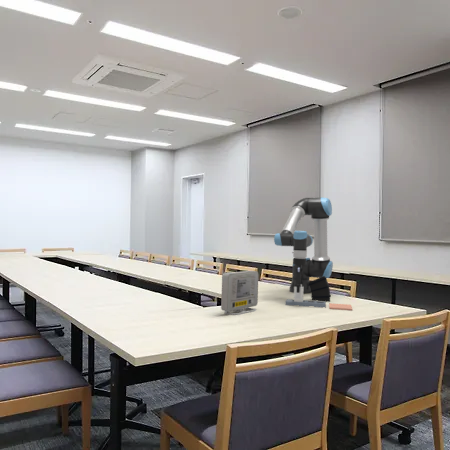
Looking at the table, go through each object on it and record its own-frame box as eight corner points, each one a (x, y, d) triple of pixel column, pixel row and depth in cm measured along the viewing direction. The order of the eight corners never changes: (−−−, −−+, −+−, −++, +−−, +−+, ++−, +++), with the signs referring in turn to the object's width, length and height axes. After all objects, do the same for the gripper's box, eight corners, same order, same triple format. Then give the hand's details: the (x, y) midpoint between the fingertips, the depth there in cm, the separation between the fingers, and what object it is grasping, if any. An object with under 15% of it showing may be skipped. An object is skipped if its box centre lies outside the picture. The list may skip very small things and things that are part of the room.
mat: (329, 304, 246) (329, 303, 246) (351, 306, 243) (351, 304, 243) (329, 308, 232) (329, 307, 232) (352, 310, 230) (352, 309, 230)
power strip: (286, 302, 249) (286, 298, 249) (325, 305, 243) (325, 301, 243) (285, 304, 241) (285, 300, 241) (325, 307, 236) (325, 303, 236)
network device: (248, 307, 230) (249, 270, 230) (261, 309, 224) (262, 271, 225) (217, 313, 210) (218, 273, 210) (231, 316, 205) (232, 274, 205)
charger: (294, 303, 246) (294, 286, 246) (303, 304, 244) (303, 286, 244) (293, 304, 242) (294, 287, 242) (302, 305, 241) (303, 287, 241)
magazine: (334, 299, 254) (324, 276, 257) (314, 307, 259) (304, 283, 262) (335, 298, 258) (325, 275, 260) (315, 306, 263) (306, 283, 265)
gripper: (294, 256, 255) (293, 293, 255) (291, 258, 233) (290, 299, 233) (307, 257, 254) (306, 294, 253) (305, 259, 231) (304, 300, 231)
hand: (298, 296), depth 243 cm, fingers open, 10 cm apart
